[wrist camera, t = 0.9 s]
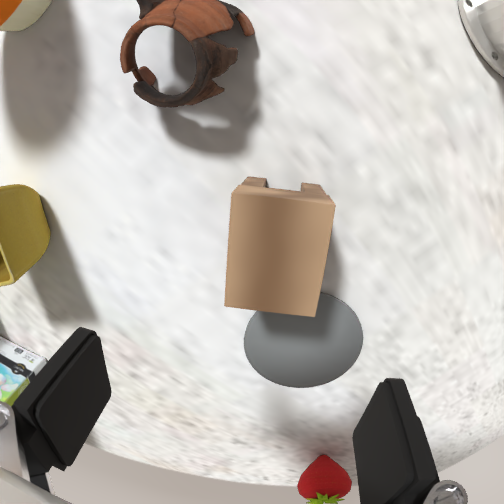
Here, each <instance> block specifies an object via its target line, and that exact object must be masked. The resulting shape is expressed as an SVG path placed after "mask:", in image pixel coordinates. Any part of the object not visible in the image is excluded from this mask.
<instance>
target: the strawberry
mask: <svg viewBox="0 0 504 504" xmlns="http://www.w3.org/2000/svg"><path fill="white" fill-rule="evenodd" d="M351 484H352V481H351V479H350V477H349V475H348V473H347V472H346V471H345V470H344V469H343V468H342V467H341V466H340V465H339V464H338V463H336V462H335V461H333V460H332V459H331V458H330V457H328V456H327V455H321V456H319V457H318V458H317V459H316V460H315V461H314V462H313V463H312V464H311V465H309V467H308V468H307V469H306V470H305V471H304V472H303V474H302V475H301V477H300V480H299V482H298V485H297V487H298V491H299V494H300V495H302V496H303V497H304V498H306V499H307V500H310V502H307V503H310V504H323V503H324V502H325V503H330V504H334V503H335V504H338V503H337V501H341V500H344V499H339V498H341V497H343V496H345V495H346V494H347V493H348V492H349V491H350V490H351Z"/></svg>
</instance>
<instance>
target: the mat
mask: <svg viewBox="0 0 504 504" xmlns="http://www.w3.org/2000/svg"><path fill="white" fill-rule="evenodd" d="M362 344H363V331H362V327H361V324H360V321H359V319H358V317H357V316H356V314H355V312H354V311H353V310H352V309H351V308H350V307H349V306H348V305H347V304H345V303H344V302H343V301H341V300H339V299H338V298H335V297H333V296H331V295H328V294H324V293H320V295H319V300H318V304H317V309H316V314H315V317H310V316H301V315H291V314H282V313H274V312H265V311H257V312H256V313H255V314H254V315H253V317H252V318H251V320H250V321H249V323H248V325H247V328H246V331H245V337H244V349H245V353H246V356H247V359H248V360H249V362H250V364H251V365H252V367H253V368H254V369H255V370H256V371H257V372H258V373H259V374H260V375H262V376H263V377H265V378H266V379H268V380H270V381H272V382H274V383H277V384H280V385H283V386H288V387H296V388H305V387H313V386H318V385H322V384H325V383H328V382H330V381H332V380H334V379H336V378H338V377H339V376H341V375H342V374H344V373H345V372H346V371H347V370H348V369H349V368H350V367H351V366H352V365H353V364H354V362H355V361H356V359H357V358H358V356H359V354H360V351H361V348H362Z"/></svg>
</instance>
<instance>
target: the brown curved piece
mask: <svg viewBox="0 0 504 504" xmlns="http://www.w3.org/2000/svg"><path fill="white" fill-rule="evenodd" d="M137 2H138V4H139V6H140V16H139V18H140V19H141V20H139V21H137V22H136V23H135V24H134V25H133V26H131V28H130V29H129V30H128V32H127V33H126V36H125V38H124V40H123V42H122V46H121V53H120V61H121V67H122V70H123V72H124V73H128V72H130V71H132V72H133V74H134V76H135V78H136V79H137V81H138V82H136V83H134V85H133V87H134V92H135V93H136V94H137V95H138V96H139V97H141V98H142V99H143V100H145V101H147V102H149V103H150V104H153V105H156V106H159V107H178V106H184V105H194V104H197V103H199V102H202V101H203V100H205V99H208V98H210V97H213V96H216V95H218V94H220V93H222V92H224V88H222V87H219V86H218V85H217V84H216V83H215V82H214V81H213V80H212V78H215V77H218V76H220V75H222V74H223V73H225V72H226V71H227V69H228V68H229V66H231V65H233V64H234V63H235V62H236V61H237V55H238V50H237V48H227V47H226V46H224V45H222V44H219V43H217V42H215V41H213V40H211V39H209V38H208V36H210V35H212V34H215V33H218V32H221V31H228V30H230V29H231V28H232V26H233V24H234V22H233V20H232V19H231V17H233V16H235V17H236V18H237V20H238V21H239V23H240V25H241V27H242V30H243V32H244V35H245V36H250V35H253V34H254V28H253V26H252V24H251V22H250V20H249V19H248V17H247V16H246V15H245V14H244V13H243V12H242V11H241V10H240V9H238V8H237V7H235V6H233V5H231V4H228V3H225V2H222V1H219V0H137ZM155 25H164V26H168V27H171V28H173V29H175V30H177V31H178V32H180V33H181V34H182V35H183V36H184V37H185V38H186V39H187V40H188V41H189V42H190V43H191V46H192V48H193V50H194V53H195V57H196V75H195V79H194V82H193V84H192V85H191V87H190V88H189V89H188V90H187V91H186V92H184V93H182V94H179V95H166V94H162V93H160V92H158V91H157V90H156V89H155V88H154V87H153V84H154V82H155V80H156V77H155V75H154V74H153V73H152V71H150V70H149V69H148V68H147V67H145V66H143V67H141V68H140V69H138V67H137V64H136V60H135V45H136V41H137V39H138V37H139V35H140V34H141V33H142V32H143V30H145V29H147V28H148V27H151V26H155Z"/></svg>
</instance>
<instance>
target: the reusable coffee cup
mask: <svg viewBox="0 0 504 504" xmlns="http://www.w3.org/2000/svg"><path fill="white" fill-rule="evenodd" d="M51 2H52V0H0V31H21V30H24V29H26V28H28V27H29V26H31V25H32V24H33V23H35V22H36V21H37V20H38V19H39V18H40V17H41V16H42V14H43V13H44V12H45V11H46V9H47V8H48V6H49V5H50V3H51Z"/></svg>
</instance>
